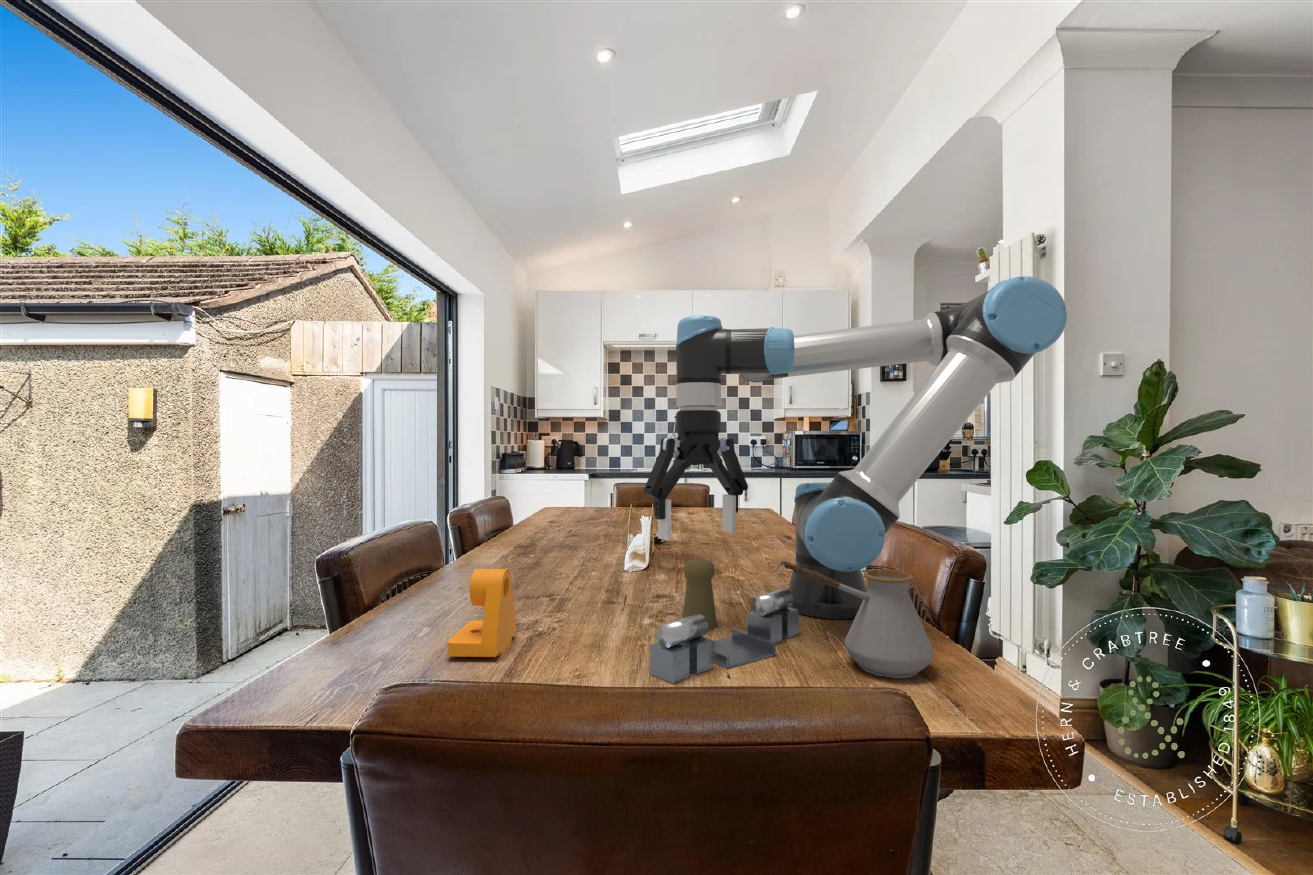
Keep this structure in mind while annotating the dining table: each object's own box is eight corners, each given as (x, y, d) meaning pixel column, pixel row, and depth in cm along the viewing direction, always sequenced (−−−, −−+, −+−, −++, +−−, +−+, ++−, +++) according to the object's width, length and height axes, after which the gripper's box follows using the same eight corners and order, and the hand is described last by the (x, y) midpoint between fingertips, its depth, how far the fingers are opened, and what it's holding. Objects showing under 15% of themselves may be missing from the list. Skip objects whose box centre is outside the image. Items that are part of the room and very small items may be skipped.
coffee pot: (907, 651, 90) (907, 550, 90) (951, 682, 78) (951, 566, 78) (766, 656, 88) (765, 552, 88) (790, 689, 77) (789, 570, 77)
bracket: (470, 636, 97) (470, 561, 97) (515, 637, 97) (515, 562, 97) (445, 662, 86) (445, 577, 86) (496, 662, 86) (495, 577, 86)
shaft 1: (688, 659, 87) (688, 610, 87) (712, 668, 83) (711, 617, 83) (650, 674, 82) (650, 622, 81) (673, 683, 78) (673, 629, 78)
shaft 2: (770, 645, 93) (770, 599, 92) (747, 638, 96) (747, 593, 96) (798, 634, 98) (798, 590, 98) (775, 627, 101) (775, 585, 101)
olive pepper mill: (674, 625, 102) (673, 560, 102) (696, 617, 107) (696, 554, 107) (702, 633, 98) (701, 565, 98) (724, 624, 103) (724, 559, 103)
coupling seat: (734, 638, 96) (734, 628, 96) (775, 655, 88) (775, 644, 88) (687, 649, 91) (687, 638, 91) (726, 668, 83) (726, 657, 83)
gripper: (740, 412, 112) (739, 526, 113) (623, 408, 99) (622, 538, 99) (768, 410, 106) (767, 532, 106) (647, 406, 93) (647, 546, 93)
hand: (697, 535), depth 103 cm, fingers open, 13 cm apart
